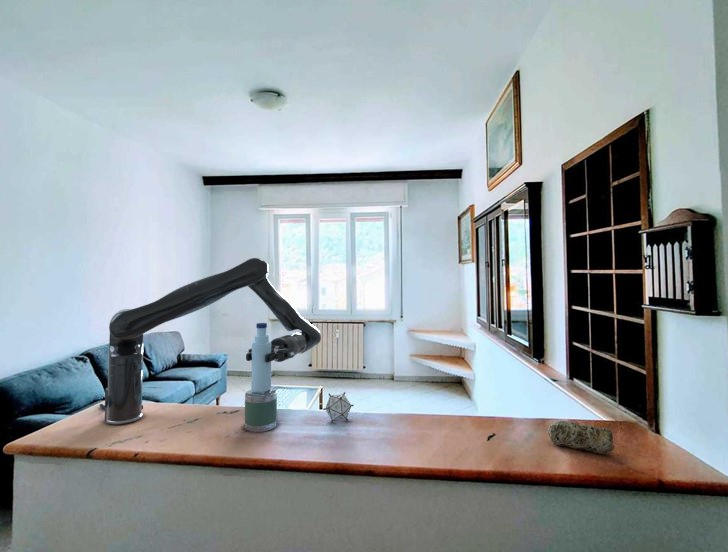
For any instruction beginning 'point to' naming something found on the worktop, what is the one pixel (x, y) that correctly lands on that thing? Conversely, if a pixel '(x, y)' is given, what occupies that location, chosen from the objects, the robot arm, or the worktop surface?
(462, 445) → the worktop surface
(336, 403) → the game die
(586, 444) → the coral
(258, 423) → the tin
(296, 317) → the robot arm
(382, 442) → the worktop surface
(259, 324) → the bottle
